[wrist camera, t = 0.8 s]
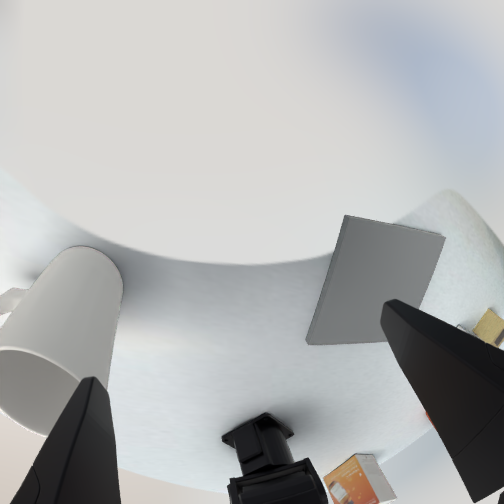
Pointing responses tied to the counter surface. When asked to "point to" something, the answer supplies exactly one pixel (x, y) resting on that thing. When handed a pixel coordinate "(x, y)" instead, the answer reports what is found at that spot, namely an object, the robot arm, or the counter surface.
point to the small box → (359, 482)
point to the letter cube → (490, 329)
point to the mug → (57, 336)
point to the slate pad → (372, 279)
